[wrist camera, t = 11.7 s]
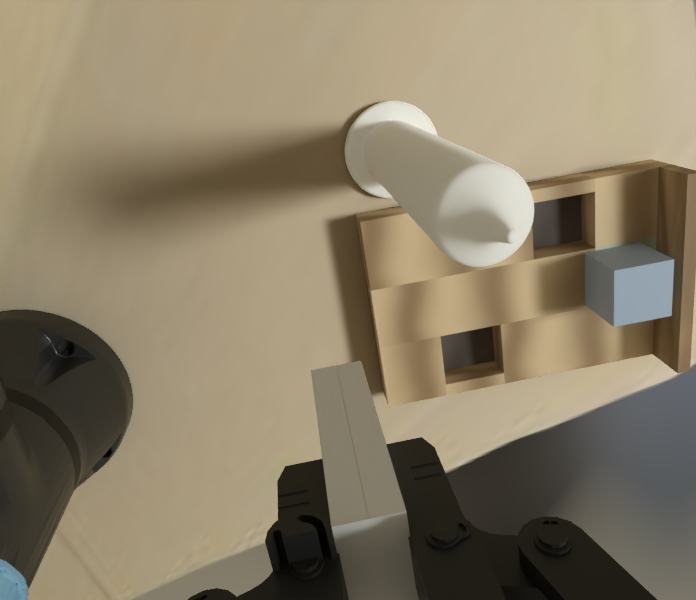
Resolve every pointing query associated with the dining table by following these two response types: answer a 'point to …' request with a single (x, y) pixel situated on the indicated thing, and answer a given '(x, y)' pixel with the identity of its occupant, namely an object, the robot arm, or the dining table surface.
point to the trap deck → (528, 287)
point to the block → (629, 284)
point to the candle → (440, 184)
